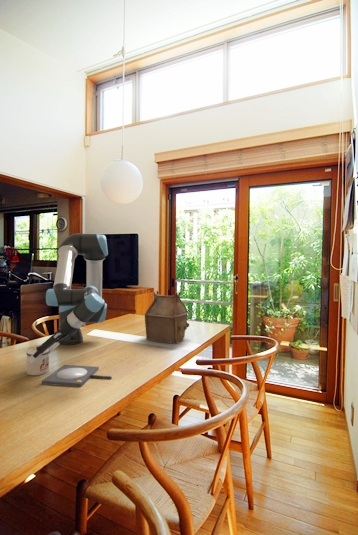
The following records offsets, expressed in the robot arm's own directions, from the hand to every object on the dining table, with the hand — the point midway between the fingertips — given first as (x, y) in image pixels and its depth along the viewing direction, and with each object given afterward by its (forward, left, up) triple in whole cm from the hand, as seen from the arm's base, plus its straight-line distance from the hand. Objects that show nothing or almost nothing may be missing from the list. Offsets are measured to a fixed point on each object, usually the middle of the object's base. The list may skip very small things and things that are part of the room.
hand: (39, 356), depth 128 cm
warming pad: (+21, -3, -6) cm, 22 cm away
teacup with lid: (0, +1, -7) cm, 7 cm away
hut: (+46, +62, -7) cm, 77 cm away
